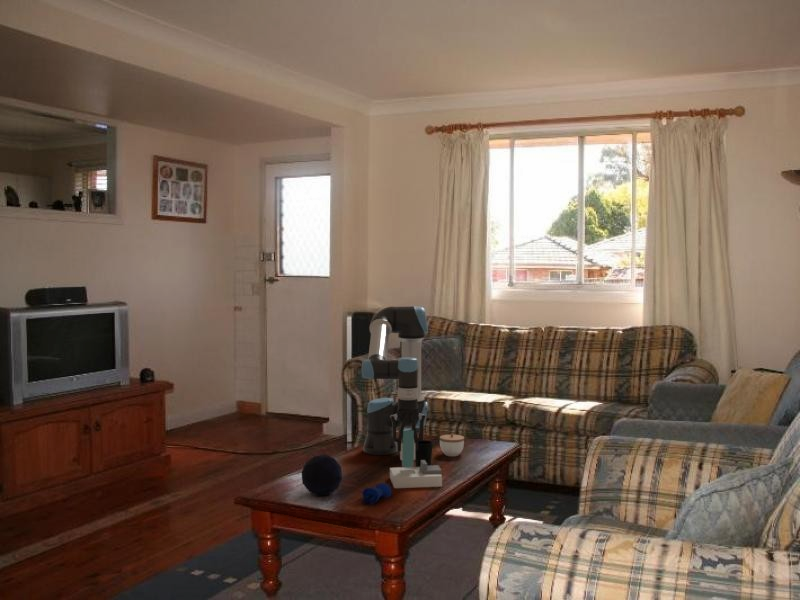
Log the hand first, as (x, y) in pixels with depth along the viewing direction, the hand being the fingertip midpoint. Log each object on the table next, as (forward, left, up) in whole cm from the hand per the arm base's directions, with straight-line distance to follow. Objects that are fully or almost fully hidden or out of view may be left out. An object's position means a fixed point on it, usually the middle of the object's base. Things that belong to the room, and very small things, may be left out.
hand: (407, 459), depth 300 cm
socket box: (0, +3, -9) cm, 10 cm away
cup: (-14, +8, -9) cm, 19 cm away
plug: (0, 0, -3) cm, 3 cm away
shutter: (0, +9, -5) cm, 10 cm away
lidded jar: (-40, +25, -9) cm, 48 cm away
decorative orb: (+11, -33, -9) cm, 36 cm away
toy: (+19, -14, -10) cm, 25 cm away
